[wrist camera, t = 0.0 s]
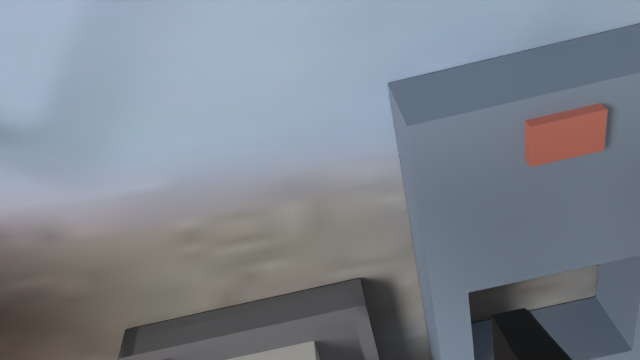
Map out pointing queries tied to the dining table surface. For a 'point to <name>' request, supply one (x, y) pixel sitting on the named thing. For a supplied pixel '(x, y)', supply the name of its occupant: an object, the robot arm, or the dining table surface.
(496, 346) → the robot arm
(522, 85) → the power strip
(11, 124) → the dining table surface
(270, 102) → the dining table surface
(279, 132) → the dining table surface
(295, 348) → the plug
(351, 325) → the tray
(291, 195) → the dining table surface
